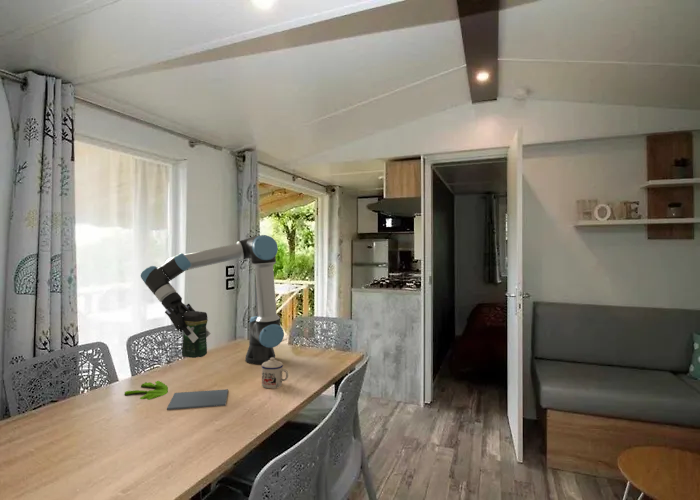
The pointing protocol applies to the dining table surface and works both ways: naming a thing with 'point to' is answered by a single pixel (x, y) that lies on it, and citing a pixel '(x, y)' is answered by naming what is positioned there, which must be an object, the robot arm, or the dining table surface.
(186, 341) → the coffee jar
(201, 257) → the robot arm
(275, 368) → the teacup with lid
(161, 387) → the cloth
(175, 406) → the mat
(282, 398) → the dining table surface
